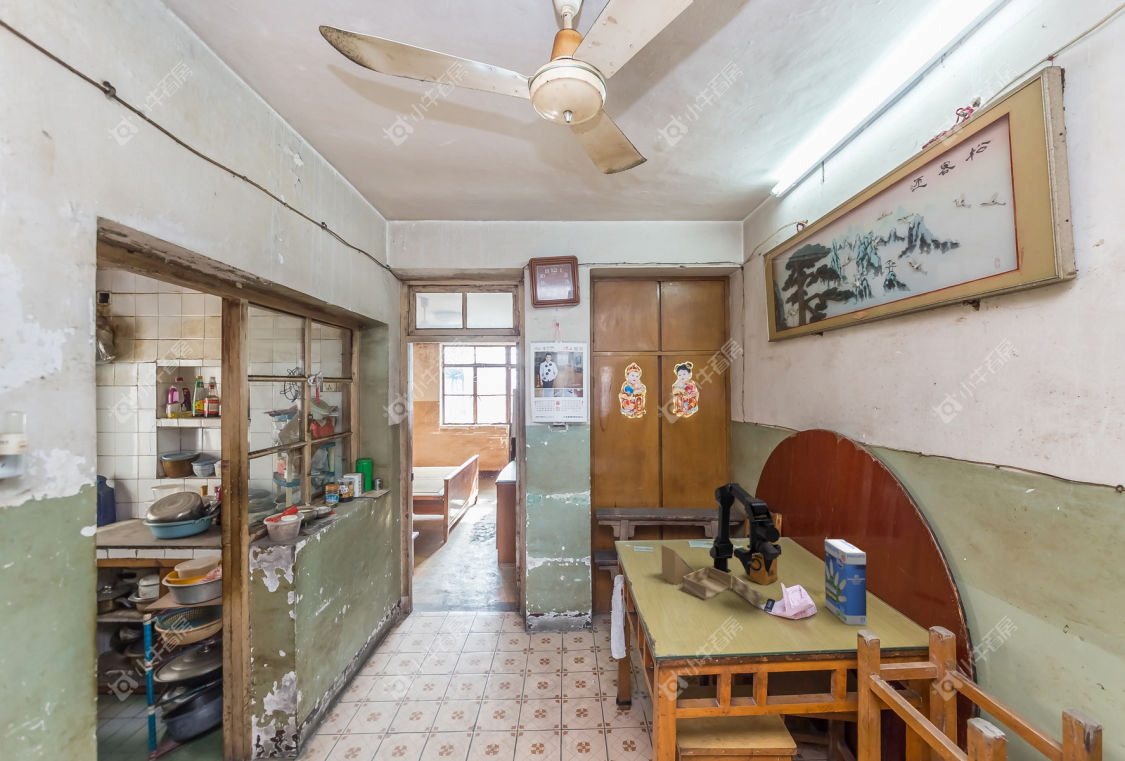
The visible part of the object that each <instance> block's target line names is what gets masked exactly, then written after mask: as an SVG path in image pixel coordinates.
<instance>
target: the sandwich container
mask: <svg viewBox="0 0 1125 761" xmlns="http://www.w3.org/2000/svg"><path fill="white" fill-rule="evenodd" d="M660 547H661V578H662V579H663V580H665V581H668V582H669V583H671V584H673V585H674V586H676V585H679V584H682V577H683V576H686V575H688V574H690V573H693V572H695V570H694V569H693V568H692V567H691V566H690V565H689V564H688V563H687V562H686V561H685V560H684V559H683V558H682V557H681V556H680V554H679V553H678V552H677V551H676V550H675V549H673V548H671V547H669V546H666V545H664V544H661V546H660Z"/></svg>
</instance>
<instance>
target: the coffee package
mask: <svg viewBox="0 0 1125 761" xmlns="http://www.w3.org/2000/svg"><path fill="white" fill-rule="evenodd" d="M769 543H770V542H769ZM772 544H777V543H776V542H775V543H772ZM748 550H750V549H749V548H748ZM751 560H753V561H752V562H751V563H750V576H748V575H747V576H748V579H749V580H750V581H753V582H755V583H757V584H759V585H762V586H767V585H769V584H770V583H775V582H776V580H777V579H778V557H777V558H776V559H774V560H773V562H772V564H771V567H770V570H769V572H766V570H765V565H764V559H763V555H762V554H756V555H752V559H751Z"/></svg>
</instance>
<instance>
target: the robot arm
mask: <svg viewBox="0 0 1125 761" xmlns="http://www.w3.org/2000/svg"><path fill="white" fill-rule="evenodd" d="M714 497H715V501H716V503H717V504H718V517H717V518H718V521H717V523H718V524H717V536H716V537H715V538H714V540H713V542H712V546H711V548H710V550H709V556H710V557H711V558H712V559H713V568H715V569H718V570H720V571H723V572H725V573H728V574H729V573H730V572H732V570H731V569H730V568H729V560H730V559H731V560H733V557H736V558H737V559H738V560H739V561H740V563H741V565H742V567H743V569H744V571H745V573H746V575H747V576H750V563H751V562H752V561H753V560H751V559H752V555H756V554H762V555H763V559H764V565H765V570H766V572H769V570H770V567H771V564H772V562H773V560H774V559H776V558H777V559H778V558H779V557H780V556H781V555H782V546H781V545H780V544H779V543H776V542H778V541H779V539H780V537H781V533H780V531H779V529H778V528H776V527H775V523H773V522H774V519H773V515H772V513H771V511H770V509H769V506H768V504H767V503H766V502H765V501H764V500H762V499H760V498H757V497H753V496H752V495H751V494H750V493H749V492H748V491H746V490H745V489H744V488H743V487H742V486H741V485H740V483H739V482H738V483H737V482H727V483H726V484H724V485H722V486H719V487H717V488H715V490H714ZM735 500H738V502H739V503H740V504H742V505H743V506H744V509H743V510H744V511H745V513H746V514H747V515H746V519H747V520H748V529H749V530H748V533H747V534H746V538H748V539H749V540H748V541H749V542H748V543H749V544H747V548H748V549H746V548H744V547H738V548H735V549H734V544H733V543H732V541H731V539H730V522H731V507H733V505H734V504H735ZM769 542H770V543H769ZM772 543H776V544H772ZM749 549H750V550H749Z"/></svg>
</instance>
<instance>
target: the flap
mask: <svg viewBox="0 0 1125 761" xmlns="http://www.w3.org/2000/svg"><path fill="white" fill-rule="evenodd" d="M731 589H732V590H733V591H734V592H736V593H737V594H738V595H739V596H741V597H742V598H744V599H745V600H747V602H750V603H751V604H752V605H753V606H754V607H755V608H757V609H759V610H761V609H762V594H761V593H760V592H758V591H757V590H756V589H754V588H753V587H752V586H750V585H748V584H747V583H745V582H744V581H743V580H741V579H740V578H738V576H736V575H734V574H731Z"/></svg>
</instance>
